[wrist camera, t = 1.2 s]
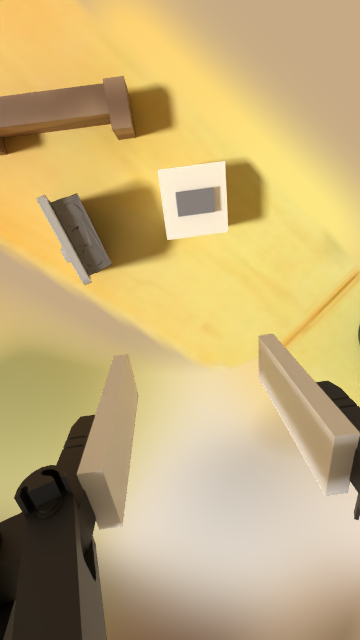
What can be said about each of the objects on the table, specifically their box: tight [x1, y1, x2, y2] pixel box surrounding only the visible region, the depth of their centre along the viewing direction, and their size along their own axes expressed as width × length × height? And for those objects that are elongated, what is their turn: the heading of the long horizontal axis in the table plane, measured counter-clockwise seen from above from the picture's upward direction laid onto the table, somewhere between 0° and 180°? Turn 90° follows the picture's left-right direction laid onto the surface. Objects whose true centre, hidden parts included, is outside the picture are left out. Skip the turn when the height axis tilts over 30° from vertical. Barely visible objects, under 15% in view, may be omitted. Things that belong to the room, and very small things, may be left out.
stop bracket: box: [0, 76, 136, 155], centre depth 28 cm, size 4×17×4 cm, turn 97°
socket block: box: [158, 161, 228, 240], centre depth 31 cm, size 7×7×7 cm
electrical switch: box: [37, 194, 112, 285], centre depth 31 cm, size 9×5×9 cm, turn 21°
